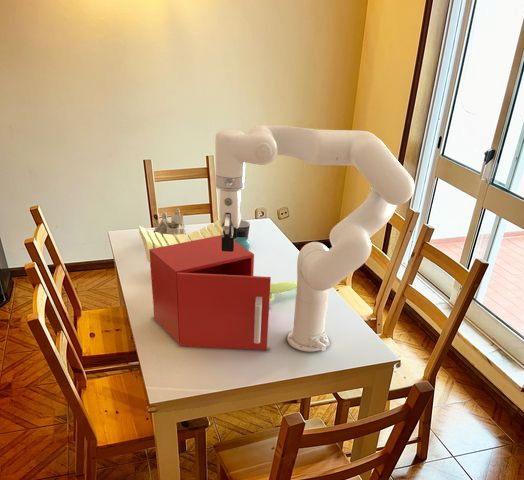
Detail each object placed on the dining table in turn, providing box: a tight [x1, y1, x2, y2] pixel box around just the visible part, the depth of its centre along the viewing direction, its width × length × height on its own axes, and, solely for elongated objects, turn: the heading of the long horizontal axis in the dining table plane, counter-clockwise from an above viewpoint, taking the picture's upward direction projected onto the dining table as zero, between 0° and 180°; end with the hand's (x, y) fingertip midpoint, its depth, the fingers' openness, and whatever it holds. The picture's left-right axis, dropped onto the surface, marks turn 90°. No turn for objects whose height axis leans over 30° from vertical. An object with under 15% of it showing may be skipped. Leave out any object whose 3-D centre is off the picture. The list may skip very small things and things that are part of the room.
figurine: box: [269, 281, 297, 303], centre depth 192 cm, size 18×27×6 cm
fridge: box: [149, 235, 255, 345], centre depth 173 cm, size 18×26×24 cm
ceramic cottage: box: [153, 207, 187, 244], centre depth 226 cm, size 16×16×15 cm
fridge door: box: [177, 273, 272, 351], centre depth 157 cm, size 7×26×24 cm, turn 89°
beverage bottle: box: [234, 228, 251, 251], centre depth 199 cm, size 6×7×20 cm
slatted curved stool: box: [138, 218, 223, 263], centre depth 202 cm, size 30×16×18 cm, turn 111°
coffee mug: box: [234, 219, 251, 240], centre depth 231 cm, size 12×9×10 cm
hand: (229, 244), depth 151 cm, fingers open, 9 cm apart
